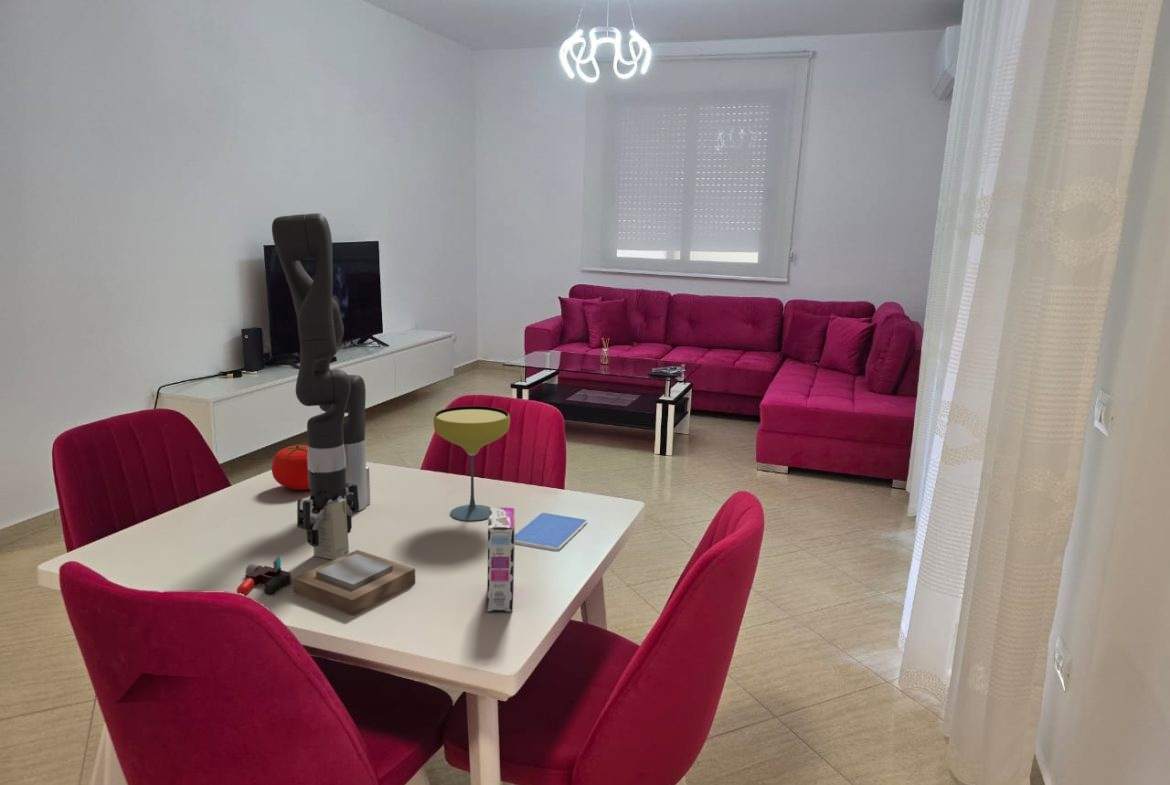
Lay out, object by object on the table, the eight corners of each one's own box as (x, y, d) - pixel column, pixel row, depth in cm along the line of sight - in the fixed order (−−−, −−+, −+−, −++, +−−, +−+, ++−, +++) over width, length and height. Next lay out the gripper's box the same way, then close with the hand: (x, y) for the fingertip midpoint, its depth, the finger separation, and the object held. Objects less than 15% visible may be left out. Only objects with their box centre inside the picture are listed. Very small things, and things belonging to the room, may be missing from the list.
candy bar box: (514, 612, 142) (514, 528, 139) (486, 613, 142) (486, 528, 138) (514, 585, 153) (515, 506, 150) (488, 585, 153) (488, 506, 149)
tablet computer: (541, 516, 192) (541, 511, 192) (589, 523, 188) (589, 518, 187) (506, 544, 174) (506, 539, 174) (558, 554, 170) (558, 548, 170)
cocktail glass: (522, 518, 189) (523, 417, 184) (454, 532, 179) (453, 427, 174) (488, 496, 203) (488, 403, 198) (423, 508, 193) (421, 410, 188)
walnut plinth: (357, 563, 161) (357, 545, 160) (415, 582, 153) (415, 563, 152) (293, 592, 148) (292, 573, 147) (353, 615, 140) (352, 595, 139)
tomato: (337, 484, 210) (336, 442, 207) (300, 499, 198) (298, 455, 195) (301, 477, 215) (299, 436, 213) (262, 491, 203) (260, 448, 200)
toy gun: (253, 571, 157) (252, 548, 156) (298, 583, 152) (297, 560, 151) (213, 590, 149) (211, 567, 148) (259, 604, 144) (258, 580, 143)
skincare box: (349, 553, 166) (347, 499, 163) (335, 561, 162) (333, 505, 159) (326, 548, 168) (324, 494, 166) (311, 555, 165) (309, 500, 162)
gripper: (341, 454, 169) (343, 524, 172) (286, 470, 157) (290, 546, 160) (365, 460, 165) (368, 532, 169) (311, 477, 153) (315, 554, 157)
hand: (330, 538), depth 164 cm, fingers open, 8 cm apart
